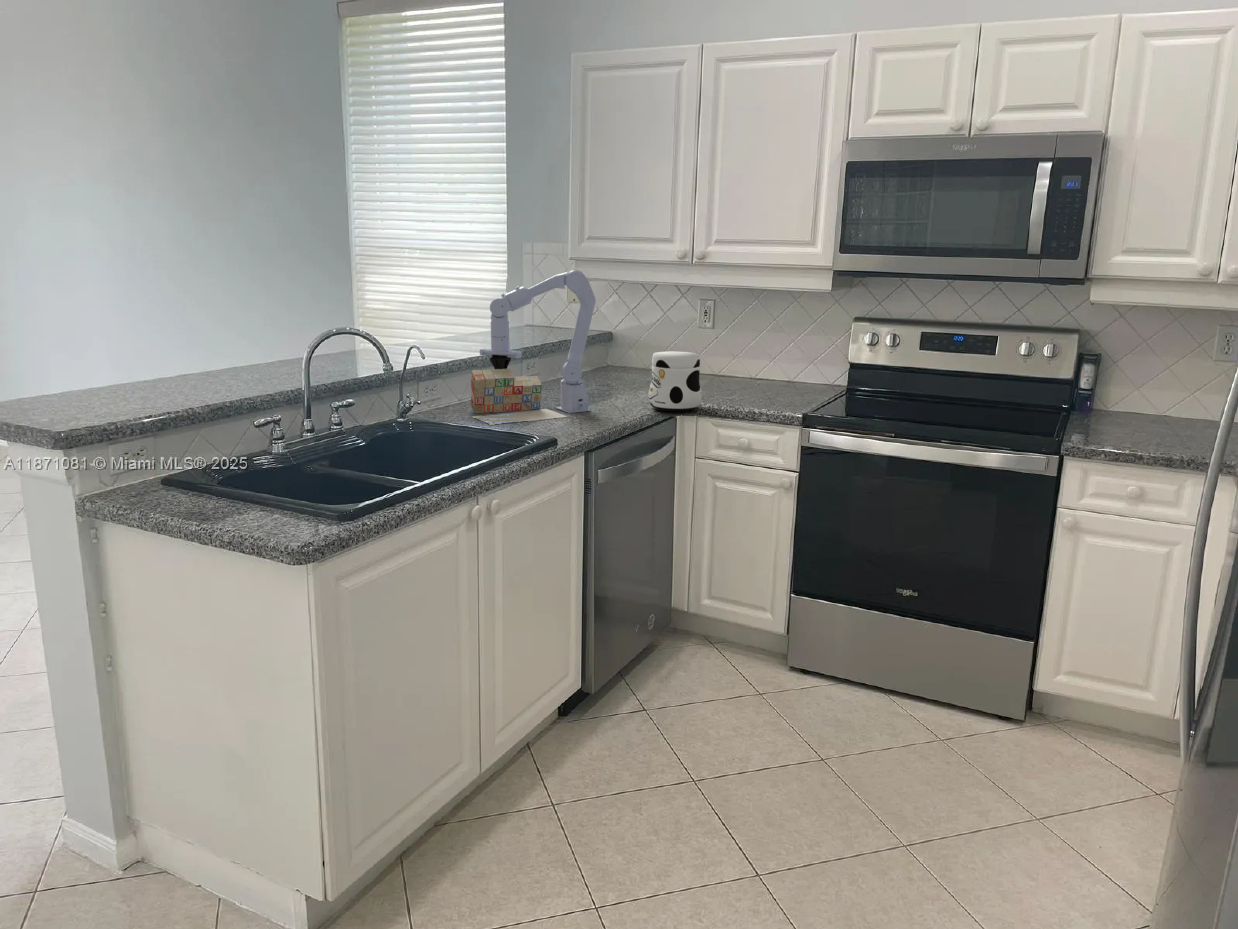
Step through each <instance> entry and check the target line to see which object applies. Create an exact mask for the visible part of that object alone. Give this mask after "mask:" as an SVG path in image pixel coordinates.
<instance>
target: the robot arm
mask: <svg viewBox="0 0 1238 929" xmlns="http://www.w3.org/2000/svg"><path fill="white" fill-rule="evenodd" d="M565 286H566V287H567V289H568V290H569V291H571V292H572V293H573V294H575V297H576V298H577V299H578V301H579V303H580V304H579V309H578V312H577V316H576V320H575V325H574V329H573V334H572V337H571V341H570V348H569V350H568V354H567V359H566V360H565V362H564V363H563V364H562V367H561V374H562V379H561V380H560V405H559V406H555V409H556V410H560V411H562V412H565V413H568V414H575V413H584V412H591V409H589V390H588V388H587V387H586V386H584V380H583V379H582V376H583V370H582V363H583V357H584V352H585V348H586V345H587V339H588V336H589V331H590V327H591V321H592V319H593V314H594V310H595V304H596V301H597V300H596V296H595V294H594V291H593V288H592V286H591V284H590V281H589V279H588V278H587V277H586V276H585V274H584V273H583V271H581V270H578V269H572V270H569V271H568V272H567V271H566V272H562V273H558V274H555V275H553V276H551V277H549V278H547V279H545V280H543V281H541V282H539V283H537V284H535V285H533V286H531V287H525V286H521V287H520V286H518V285H517V286H516V287H515V288H514V290H512V291H510V292H506V293H502V294H501V295H500V296H501V297H496V298H494V299H493V300H492V301H491V302H490V305H489V311H490V312H491V315H490V320H491V321H490V344H491V345H490V346H491V347H490V348H480V349H479V356H488V357H489V356H491V357H490V358H489V361H490V363H491V364H492V366H493V369H508V367H509V365H510V363H511V361H512V358H515V359H522V357H523V356H522V354H523V353H522V351H519V350H512V349H510V322H509V312H515V311H517V310H519V309H521V308H524V307H526V306H527V305H530V304H531V302H532V300H533V298H535V297H538V296H540V295H542V294H544V293H547V292H550V291H552V290H554V289H563V290H565V289H566V287H565Z"/></svg>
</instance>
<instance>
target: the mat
mask: <svg viewBox="0 0 1238 929" xmlns="http://www.w3.org/2000/svg"><path fill="white" fill-rule="evenodd" d="M501 414H516V415H509V416H507V415H503V416H500V415H499V416H482V415H475V416H471V418H472V419H475V418H515V419H507V420H503V419H502V420H500V419H498V420H481V421H480V422H482V421H519V422H518V423H523V422H522V421H528V422H535V421H537V422H538V421H543V420H553V419H554V418H556V419H563V418H565V419H566V418H569V416H567V415H564V414H563V413H559V412H556V411H554V410H550V409H548V408H544V409H543V408H542V409H540V410H524V411H511V412H501ZM554 420H555V419H554ZM520 421H521V422H520ZM497 424H499V425H502V424H501V423H497ZM488 426H496V425H495V424H491V423H490V424H489V425H488Z"/></svg>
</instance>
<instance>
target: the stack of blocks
mask: <svg viewBox="0 0 1238 929" xmlns="http://www.w3.org/2000/svg"><path fill="white" fill-rule="evenodd" d="M470 382H471V383H470V389H471V390H470V392H471V393H470V395H471V396H470V405H471V409H472V411H473V413H474V414H488V413H487V412H492V413H505V412H504V411H506V412H522V411H532V410H541V401H542V382H541V380H540V379H539V377H538V375H524V376H523V375H522V376H514V374H513V372H512V370H511V368H507V369H494V368H493V369H473V370H471V380H470Z"/></svg>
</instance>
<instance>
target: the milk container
mask: <svg viewBox="0 0 1238 929" xmlns="http://www.w3.org/2000/svg"><path fill="white" fill-rule="evenodd" d="M700 373H701V355H700V354H699V353H695V352H692V351H691V352H690V351H678V350H677V351H676V350H675V351H672V350H671V351H668V350H667V351H658V352H657V351H656V352H654V353H652V357H651V381H650V386H649V390H648V401H649V402H648V403H649V405H650V406H651V407H652V408H654V409H657V410H660V411H666V412H687V411H694V410H695V409H698V408H699V407H700V406H701V402H702V398H703V392H702V387H701V383H700V381H701V380H700V378H701V377H700V376H701V374H700Z"/></svg>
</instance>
